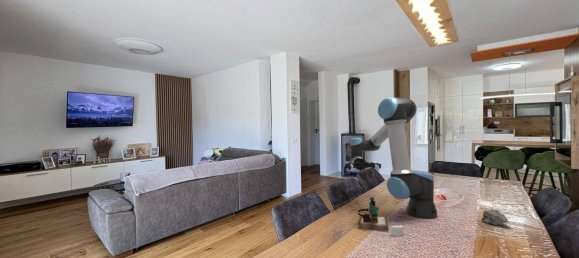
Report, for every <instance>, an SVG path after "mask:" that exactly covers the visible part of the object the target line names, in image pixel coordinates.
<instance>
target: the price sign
mask: <svg viewBox="0 0 579 258" xmlns="http://www.w3.org/2000/svg"><path fill="white" fill-rule="evenodd" d="M390 227H391V228H390V230H391V231H390V234H391V237H404V236H405V226H403V225H391V226H390Z"/></svg>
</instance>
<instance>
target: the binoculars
mask: <svg viewBox="0 0 579 258" xmlns="http://www.w3.org/2000/svg"><path fill="white" fill-rule="evenodd" d="M369 200H370V201H369V207H367V208H362V209H359V210H357V214H358V216H359V217H360V216H362V217H363V222H369V221H372V222H374V223H378V220H377V218H378V217H379V213H378V210H380V209H379V207H377V204H376V200H375V198H374V197H369ZM360 212H368V213H364V214H362V213H360ZM370 216H371V217H370ZM371 218H372V220H371Z"/></svg>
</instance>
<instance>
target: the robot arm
mask: <svg viewBox="0 0 579 258" xmlns="http://www.w3.org/2000/svg"><path fill="white" fill-rule="evenodd" d="M377 113H378V116H379V117H380V118H381V119H382V120H383V125H382V126H381V127H380V128H379V129H378V130H377V131H376V133H374V134H373V135H372V136H371V137H370V138H369V139H367V140H366V139H365V140H363V138H362V137H351V138H350V162H347V163H344V169H347V170H348V171H351V172H354V169H356V170H358V171H363V170H364V169H369V168H370V169H375V170H376V171H377V172H378V171H379V172H380V169H382V163H379V162H372V161H370V162H368V161H366V160H365V159H364V158H363V154H364V153H363V152H375V151H379V150H380V148H381V146H382V144H383V143H384V142H385V141H386V140H387V139H388V143H389V144H388V145H389V152H390V160H391V166H392V171H391V172H389V175H390V177H389V178H388V179H387V181H386V188H387V190H388V193H389V195H391V196H392V197H393V198H394V199H396V200H407V199H409V200H408V203H407V206H406V213H407V214H408V215H410V216H412V217H415V218H420V219H435V218H437V217H438V210H437V207H436V204H435V200H434V198H435V197H434V196H435V195H434V193H435V192H434V191H435V190H434V189H435V187H434V186H435V184H434V183H435V179H434V174H432V173H429V172H424V171H418V170H417V171H416V170H412V169H411V165H410V158H409V151H408V150H409V149H408V144H407V143H408V142H407V137H406V136H407V135H406V129H405V125H406V124H408V123H409V122H410V121H411V120H412V119H413V118H414V116H416V114H417V105H416V103H415V101H413V100H412V99H411V98H408V97H392V96H391V97H386V98H383V99H382V100H381V101H380V103H379V105H378V107H377Z"/></svg>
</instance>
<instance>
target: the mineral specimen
mask: <svg viewBox="0 0 579 258" xmlns="http://www.w3.org/2000/svg"><path fill="white" fill-rule="evenodd" d="M481 221H482V223H486V224H493V225H496V226H498V225H500V226H503V225H504V224H507V223H509V220H508V218H507V217H506V215H505V214H504V213H502V212H500V211H499V210H498V209H495V208H492V209H485V210H484V211H483V215H482V218H481Z"/></svg>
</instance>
